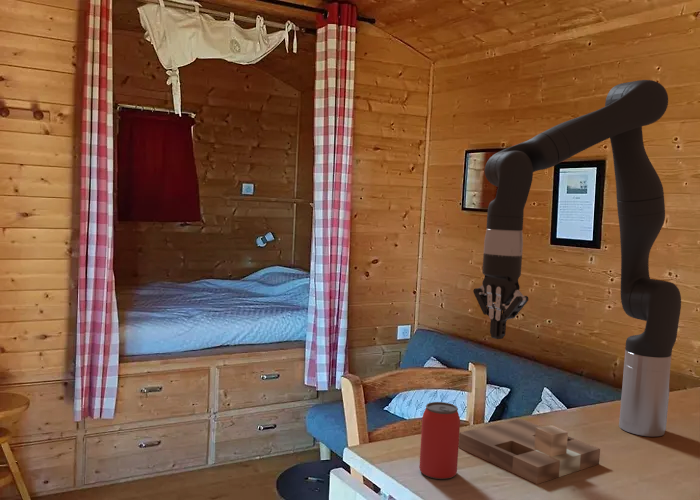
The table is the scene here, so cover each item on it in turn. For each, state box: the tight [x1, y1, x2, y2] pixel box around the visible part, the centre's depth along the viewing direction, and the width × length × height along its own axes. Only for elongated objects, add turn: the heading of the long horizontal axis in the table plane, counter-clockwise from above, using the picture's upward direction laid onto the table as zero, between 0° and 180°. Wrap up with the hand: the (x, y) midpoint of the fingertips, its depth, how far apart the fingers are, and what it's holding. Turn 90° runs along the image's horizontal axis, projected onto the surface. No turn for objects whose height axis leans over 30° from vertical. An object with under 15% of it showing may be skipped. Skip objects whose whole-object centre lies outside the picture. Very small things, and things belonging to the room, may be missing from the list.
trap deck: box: [458, 418, 601, 485], centre depth 128 cm, size 18×19×3 cm
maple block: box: [534, 424, 569, 457], centre depth 122 cm, size 4×4×4 cm
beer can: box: [418, 401, 461, 480], centre depth 117 cm, size 7×7×12 cm
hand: (497, 338), depth 134 cm, fingers closed
